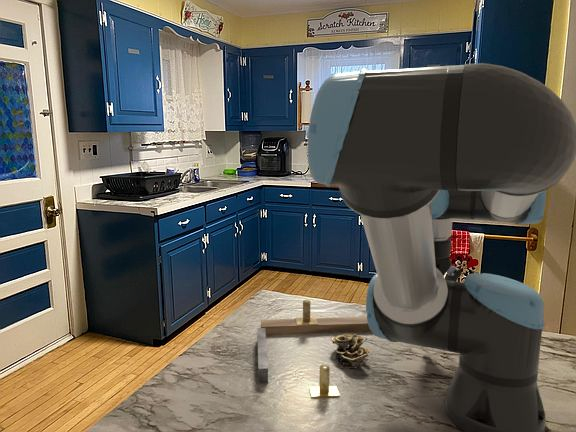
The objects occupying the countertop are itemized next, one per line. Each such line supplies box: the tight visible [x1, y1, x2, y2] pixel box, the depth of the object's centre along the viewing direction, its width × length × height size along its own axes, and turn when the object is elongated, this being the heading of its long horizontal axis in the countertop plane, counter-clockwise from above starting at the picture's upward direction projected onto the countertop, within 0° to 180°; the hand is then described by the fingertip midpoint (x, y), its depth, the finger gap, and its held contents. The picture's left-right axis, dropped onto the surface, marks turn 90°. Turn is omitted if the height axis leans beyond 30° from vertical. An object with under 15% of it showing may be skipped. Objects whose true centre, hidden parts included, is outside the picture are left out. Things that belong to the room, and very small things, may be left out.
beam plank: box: [260, 299, 372, 336], centre depth 107 cm, size 4×30×7 cm, turn 94°
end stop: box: [256, 327, 269, 384], centre depth 93 cm, size 18×2×3 cm, turn 5°
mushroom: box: [330, 333, 371, 369], centre depth 95 cm, size 12×8×4 cm, turn 174°
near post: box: [309, 364, 340, 399], centre depth 81 cm, size 3×5×5 cm, turn 94°
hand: (425, 343), depth 95 cm, fingers closed
